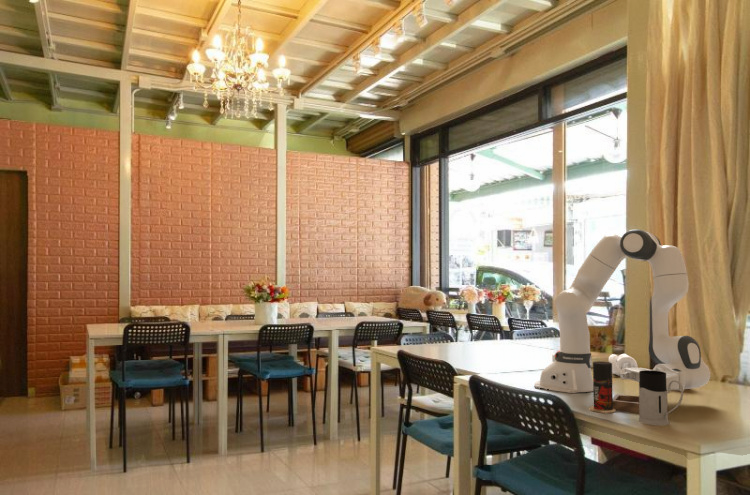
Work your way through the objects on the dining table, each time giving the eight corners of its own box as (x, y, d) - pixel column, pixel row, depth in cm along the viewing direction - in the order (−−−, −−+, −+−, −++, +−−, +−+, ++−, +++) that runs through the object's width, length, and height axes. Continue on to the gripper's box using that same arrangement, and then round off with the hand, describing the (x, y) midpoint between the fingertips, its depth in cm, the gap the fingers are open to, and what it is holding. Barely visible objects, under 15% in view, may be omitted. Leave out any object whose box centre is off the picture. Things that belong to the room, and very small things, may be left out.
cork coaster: (587, 411, 195) (587, 409, 195) (591, 406, 202) (591, 404, 202) (613, 414, 191) (613, 412, 191) (617, 409, 198) (617, 407, 198)
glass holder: (650, 416, 188) (649, 369, 188) (692, 427, 175) (691, 376, 176) (631, 420, 183) (630, 371, 184) (673, 431, 171) (672, 379, 171)
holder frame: (610, 409, 197) (610, 400, 197) (616, 402, 207) (615, 394, 207) (648, 413, 191) (648, 404, 191) (652, 406, 201) (651, 397, 201)
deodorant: (590, 408, 196) (589, 362, 197) (598, 405, 200) (597, 360, 201) (608, 411, 192) (607, 365, 192) (615, 408, 196) (615, 362, 196)
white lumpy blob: (602, 372, 266) (602, 352, 266) (630, 372, 266) (629, 352, 266) (612, 377, 255) (611, 356, 255) (640, 377, 254) (640, 356, 255)
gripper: (644, 362, 213) (610, 364, 209) (687, 372, 193) (651, 374, 190) (644, 380, 213) (611, 382, 209) (687, 392, 193) (651, 394, 189)
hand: (630, 378), depth 199 cm, fingers open, 8 cm apart
